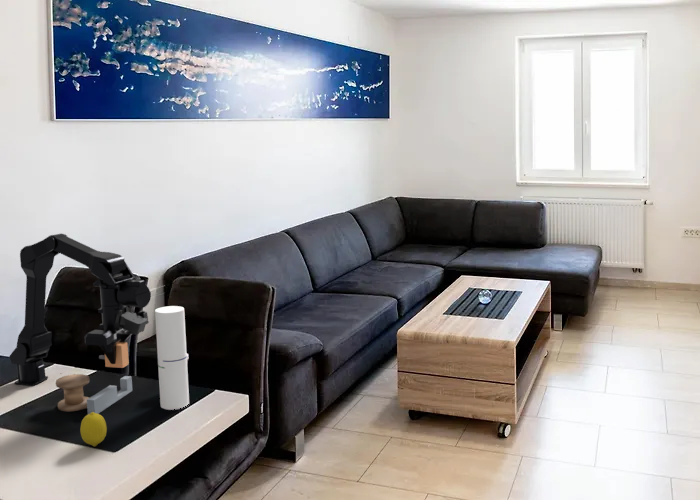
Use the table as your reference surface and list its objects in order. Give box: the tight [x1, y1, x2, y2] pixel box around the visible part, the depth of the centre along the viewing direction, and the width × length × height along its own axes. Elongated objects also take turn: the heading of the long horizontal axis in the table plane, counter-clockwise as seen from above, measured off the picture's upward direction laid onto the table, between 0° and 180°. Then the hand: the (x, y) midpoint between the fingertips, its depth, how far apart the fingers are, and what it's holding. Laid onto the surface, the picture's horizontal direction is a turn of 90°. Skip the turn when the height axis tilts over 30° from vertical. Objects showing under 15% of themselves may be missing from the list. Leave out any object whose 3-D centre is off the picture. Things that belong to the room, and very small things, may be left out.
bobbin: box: [55, 373, 90, 412], centre depth 191 cm, size 8×8×7 cm
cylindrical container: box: [154, 305, 190, 411], centre depth 189 cm, size 7×7×25 cm
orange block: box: [98, 341, 130, 369], centre depth 195 cm, size 7×3×6 cm, turn 76°
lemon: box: [79, 412, 108, 447], centre depth 166 cm, size 6×6×8 cm
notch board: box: [86, 375, 133, 415], centre depth 193 cm, size 2×18×4 cm, turn 166°
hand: (116, 361), depth 195 cm, fingers closed on orange block, 3 cm apart
